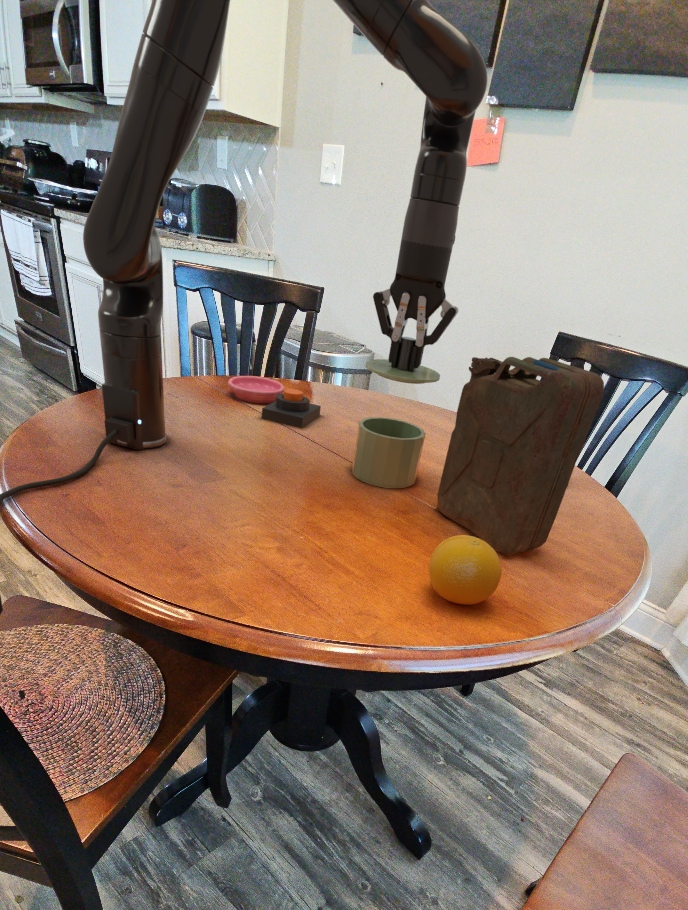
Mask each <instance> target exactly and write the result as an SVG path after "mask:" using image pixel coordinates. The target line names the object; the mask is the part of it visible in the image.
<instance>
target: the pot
mask: <svg viewBox="0 0 688 910" xmlns="http://www.w3.org/2000/svg"><path fill="white" fill-rule="evenodd" d="M425 438H426V432H425V430H424V429H423V428H421V427H420V426H418V425H416V424H414V423H412V422H408V421H405V420H402V419H397V418H392V417H384V416H371V417H365V418H362V419H361V420H360V421H358V425H357V431H356V439H355V444H354V451H353V460H352V465H351V468H352V469H351V472H352V475H353V476H354V477H355V478H356V479H358V480H359V481H361V482H362V483H366V484H368V485H371V486H374V487H379V488H386V489H405V488H409V487H410V486H412V485H414V484H415V483H416V479H417V475H418V470H419V466H420V461H421V457H422V452H423V449H424V448H423V447H424V443H425Z"/></svg>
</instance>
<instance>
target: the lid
mask: <svg viewBox="0 0 688 910" xmlns="http://www.w3.org/2000/svg"><path fill="white" fill-rule="evenodd" d="M415 345H416V338H413V337H410V336H402V338H401V343H400V348H399V354H398V359H397V365H396V368H394V367H391V363H390V362H389V359H386V358H384V359H383V358H375V359H369V360H367V361H366V362H365V368H366V369H367V370H368V371H370V372H371V373H373V374H376V375H378V376H379V377H381V378H384V379H387V380H389V381H394V382H398V383H403V384H412V385H415V384H416V385H423V384H431V383H436V382H439V381H440V379H441V374H440V373H439V372H437V371H436V370H435V369H432V368H430V367H427V366H424V365H422V364H421V365H420V366H419V368H416V370H415V371H414V372H412V371H409V367H410V362H411V357H412V352H413V346H415Z"/></svg>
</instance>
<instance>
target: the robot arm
mask: <svg viewBox="0 0 688 910" xmlns="http://www.w3.org/2000/svg"><path fill="white" fill-rule="evenodd" d="M332 1H333V2H334V3H335V5H336V6H337V7H338V8H339V9H340V10H341V11H342V13H343V14H344V15H345V16H346V17H347V18H348V20H349V21H350V22H351V23H352V24H353V25H354V26H355V28H356V29H357V30H358V31H359V32H360V33H361V34H362V36H364V38H365V39H366V40H367V41H368V42H369V43H370V44H371V46H372V47H374V49H375V50H376V51H377V52H378V53H379V54H380V55H381V56H383V59H384V60H386V62H388V64H390V65H391V66H392V67H393V68H395V70H398V71H400V72H403V73H405V74H406V76H407V77H408V79H410V80H411V81H412V82H413V84H414V85H415V86H416V87H417V88H418V89H419V90H420V91H421V92H422V94H424V96H425V100H424V101H425V102H424V109H423V117H422V124H421V134H420V145H419V150H418V155H417V159H416V163H415V167H414V172H413V178H412V184H411V190H410V198H409V200H408V205H407V209H406V212H405V216H404V221H403V226H402V233H401V240H400V245H399V253H398V257H397V263H396V269H395V277H394V279H393V281H392V282H391V284H390V286H389V288H388V289H387V288H386V289H385V290H379V291H375V292H374V293H373V295H372V298H373V303H374V307H375V312H376V315H377V319H378V324H379V327H380V331H381V334H383V335H384V336H387V337H388V338H389V339H390V347H389V353H388V359H387V360H389V362H390V363H391V367H394V368H396V365H397V359H398V354H399V348H400V343H401V338H402V337H404V332H405V329H406V327H407V324H408V321H409V319H413V320H414V321H416V326H415V328H416V329H415V330H416V333H415V334H416V335H415V339H416V345H415V346H413V352H412V357H411V362H410V367H409V371H412V372H414V371H415V370H416V368H419V366H420V365H421V366H422V360H423V355H424V351H425V347H426V346H430V345H431V346H433V345H435V344H436V343H438V341H439V339H440V338H441V336H442V335H443V334H444V333H445V331H446V330H447V329H448V327H449V326H450V325H451V323H452V321H453V320H454V319H455V317H456V316H457V315H458V313H459V308H458V307H457V306H455V305H453V304H452V303H450V301H448V300H447V299H446V296H447V294H446V291H445V286H446V281H447V275H448V271H449V266H450V261H451V256H452V252H453V247H454V245H455V241H456V233H457V227H458V221H459V220H458V219H459V210H460V204H461V199H462V194H463V191H464V190H463V189H464V185H465V180H466V175H467V168H468V159H467V153H468V147H469V143H470V138H471V134H472V129H473V125H474V120H475V115H476V112H477V109H478V108H479V107H480V105H481V104H482V102H483V100H484V98H485V95H486V93H487V92H486V91H487V87H488V70H487V65H486V63H485V60H484V57H483V55H482V53H481V52H480V50H479V49H478V48H477V47H476V45H475V44H474V43H473V42H472V40H471V39H470V37H468V36H467V35H466V34H465V33H464V32H463V31H462V30H461V29H459V27H457V26H456V25H455V24H454V22H453V23H452V22H451V21H450V19H448V18H447V17H446V16H445V15H444V14H443V13H441V12H440V11H439V10H437V9H436V8H435V7H434V6H433V5H432V4H431V2H430V1H429V0H332ZM230 4H231V0H151V4H150V7H149V9H148V13H147V17H146V19H145V22H144V26H143V28H142V33H141V35H140V39H139V42H138V46H137V50H136V53H135V58H134V61H133V65H132V69H131V73H130V78H129V83H128V87H127V91H126V94H125V98H124V102H123V105H122V109H121V113H120V117H119V120H118V126H117V130H116V134H115V138H114V143H113V146H112V147H113V148H112V151H111V154H110V158H109V161H108V164H107V167H106V170H105V172H104V175H103V177H102V180H101V183H100V185H99V187H98V190H97V192H96V195H95V197H94V200H93V202H92V205H91V207H90V209H89V212H88V214H87V217H86V220H85V223H84V227H83V233H82V241H83V249H84V253H85V256H86V259H87V262H88V264H89V265H90V267H91V268H92V270H93V271H94V272H95V273H96V274H97V275H98V276H99V277H100V278H101V279H102V286H103V288H102V290H103V291H102V296H101V297H102V298H101V301H100V305H99V307H98V311H97V319H98V331H99V338H100V348H101V349H100V350H101V359H102V368H103V369H102V370H103V379H104V383H102V384H101V393H102V394H101V395H102V402H103V412H104V430H105V438H104V439H103V440H102V441H101V442H100V444H99V445H98V447H97V448H96V451H95V453H94V455H93V456H92V458H91V459H90V460H89V461H88V463H86V465H85V466H83V467H82V468H80V469H79V470H77V471H75V472H72V473H70V474H67V475H63V476H61V477H56V478H52V479H46V480H39V481H35V482H30V483H29V482H28V483H24V484H21V485H18V486H15V487H13V488H11V489H9V490H6V491H4V492H2V493H0V506H1V505H2V503H3V501H4V500H5V499H6V498H9V497H12V496H14V495H16V494H18V493H20V492H23V491H27V490H31V489H36V488H41V487H48V486H53V485H58V484H62V483H66V482H69V481H72V480H74V479H76V478H78V477H81V476H83V475H84V474H86V473H87V472H89V471H90V470H91V469H92V468H93V466H94V465H95V464H96V463H97V462H98V460H99V459H100V456H101V454H102V452H103V450H104V449H105V448H106V446H107V445H108V444H109V443H110V444H113V445H118V446H121V447H124V448H129V449H133V450H137V451H141V450H143V449H150V448H151V449H152V448H157V447H160V446H162V445H164V444H166V442H167V432H166V416H165V395H164V394H165V393H164V392H165V391H164V377H163V376H164V371H163V350H162V349H163V348H162V327H161V326H162V318H163V312H164V267H163V264H164V263H163V251H162V244H161V243H162V242H161V240H160V236H159V233H158V231H157V229H156V227H155V223H156V218H157V216H158V215H157V214H158V212H159V208H160V204H161V201H162V198H163V196H164V193H165V191H166V188H167V186H168V184H169V182H170V180H171V179H172V177H173V175H174V174H175V172H176V170H177V168H178V167H179V165H180V164H181V162H182V160H183V159H184V157H185V155H186V154H187V152H188V150H189V149H190V147H191V145H192V143H193V141H194V139H195V138H196V135H197V134H198V131H199V129H200V127H201V125H202V121H203V119H204V116H205V113H206V111H207V107H208V104H209V102H210V99H211V96H212V93H213V90H214V87H215V84H216V82H217V78H218V75H219V69H220V66H221V63H222V62H221V61H222V56H223V53H224V52H223V51H224V45H225V40H226V34H227V33H226V32H227V26H228V20H229V12H230ZM391 299H392V301H393V303H394V306H395V309H396V311H397V314H396V316H395V320H394V327H393V324H392V320H391V316H390V312H389V308H388V306H389V305H390V303H391ZM440 307H441V311H440V313H439V315H440V318H441V319H440V321H439V322H438V324H437V325H436V326H435V328H434V330H433V331H432V332H431V333H430V334H428V329H429V324H430V318H431V317H432V316H433V315H434V313H436V311H437V310H438V309H439V308H440ZM2 601H3V600H2V596H1V595H0V616H2V615H1V614H2V613H3V611H4V607H3V602H2ZM17 691H18V695H19V698H21V699H23V698H25V696H26V693H25V690H23V689H22V690H20V689H19V690H17ZM21 699H20V700H21Z"/></svg>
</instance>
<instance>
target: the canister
mask: <svg viewBox="0 0 688 910" xmlns="http://www.w3.org/2000/svg"><path fill="white" fill-rule="evenodd" d="M511 367H513V368H511ZM468 370H469V372H470V379H469V381H467V382H466V383H465V384H464V385H463V387H462V389H461V394H460V398H459V402H458V406H457V410H456V417H455V425H454V428H453V430H452V432H451V435H450V439H449V444H448V448H447V451H446V456H445V461H444V464H443V469H442V473H441V474H442V475H441V477H440V482H439V485H438V490H437V496H436V497H437V507H438V509H439V511H440V513H441V514H442V515H443V516H445V517H447V518H449V519H450V520H452V521H453V522H455V523H456V524H458V525H460V526H461V527H462V528H463V527H464V528H465V529H467V530H469V531H470V532H471V533H473V534H474V535H475V536H477V538H479V539H481V540H483V541H484V542H486V543H487V544H488V545H490V546H491V547H492V548H493V549H494V551H495V552H498V553H500V554H503V555H506V556H507V555H508V556H511V555H515V554H520V553H521V554H522V553H526V552H531V551H534V550H536V549H538V548H541V547H542V546H543V545H544V544H545V543H547V540H548V538H549V535H550V533H551V531H552V528H553V525H554V522H555V520H556V518H557V516H558V514H559V510H560V507H561V504H562V502H563V499H564V496H565V494H566V491H567V488H568V486H569V483H570V481H571V478H572V475H573V472H574V469H575V466H576V463H577V461H578V459H579V456H580V453H581V451H582V449H583V448H584V444H585V442H586V439H587V436H588V434H589V431H590V429H591V427H592V423H593V421H594V419H595V416H596V413H597V411H598V408H599V406H600V403H601V400H602V398H603V395H604V390H605V382H604V380H603V377H601V376H600V375H599V374H598V373H596V372H593V371H590V370H587V369H585V368H581V367H577V366H573V365H570V364H567V363H565V362H560V361H557V360H554V359H551V358H548V357H541V358H539V359H537V358H534V357H531V356H527V357H524V358H522V359H521V358H518V357H515V356H508V357H505V359H504V360H503V361H501V360H499V359H497V358H493V357H489V358H488V357H483V358H481V357H477V356H473V357H471V364H470V366H469V367H468ZM538 377H539V378H542V380H540V379H537V378H538Z"/></svg>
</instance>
